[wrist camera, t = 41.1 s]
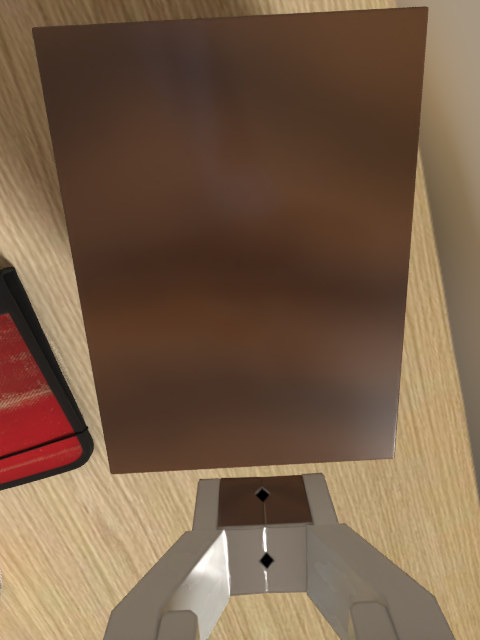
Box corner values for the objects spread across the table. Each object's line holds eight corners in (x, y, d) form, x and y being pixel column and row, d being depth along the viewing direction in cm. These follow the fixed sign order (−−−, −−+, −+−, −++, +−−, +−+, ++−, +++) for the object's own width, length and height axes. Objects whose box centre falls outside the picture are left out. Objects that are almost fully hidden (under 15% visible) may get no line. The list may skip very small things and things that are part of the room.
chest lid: (387, 447, 18) (395, 459, 17) (115, 462, 18) (110, 475, 17) (417, 15, 13) (430, 5, 12) (42, 35, 13) (30, 26, 12)
